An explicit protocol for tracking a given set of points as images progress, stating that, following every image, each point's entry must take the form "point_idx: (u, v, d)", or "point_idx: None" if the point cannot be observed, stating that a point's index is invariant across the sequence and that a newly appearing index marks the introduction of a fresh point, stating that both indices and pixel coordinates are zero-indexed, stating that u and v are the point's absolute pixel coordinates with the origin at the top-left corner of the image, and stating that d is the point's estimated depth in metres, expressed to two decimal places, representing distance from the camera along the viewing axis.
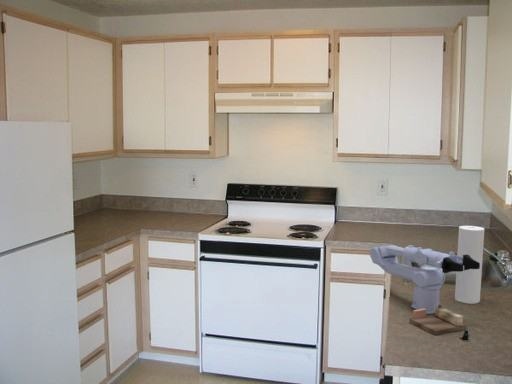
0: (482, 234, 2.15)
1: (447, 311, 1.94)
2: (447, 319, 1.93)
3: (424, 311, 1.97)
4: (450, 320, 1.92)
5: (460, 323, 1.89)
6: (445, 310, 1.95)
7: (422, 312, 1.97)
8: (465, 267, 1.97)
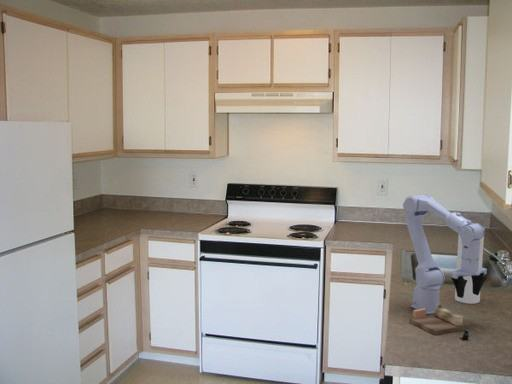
0: None
1: (447, 311, 1.94)
2: (447, 319, 1.93)
3: (424, 311, 1.97)
4: (450, 320, 1.92)
5: (460, 323, 1.89)
6: (445, 310, 1.95)
7: (422, 312, 1.97)
8: (473, 277, 1.96)
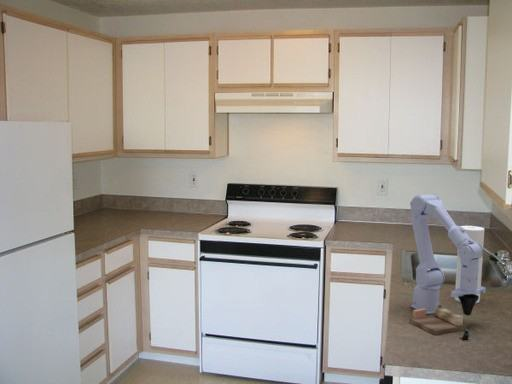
0: (482, 234, 2.15)
1: (447, 311, 1.94)
2: (447, 319, 1.93)
3: (424, 311, 1.97)
4: (450, 320, 1.92)
5: (460, 323, 1.89)
6: (445, 310, 1.95)
7: (422, 312, 1.97)
8: None
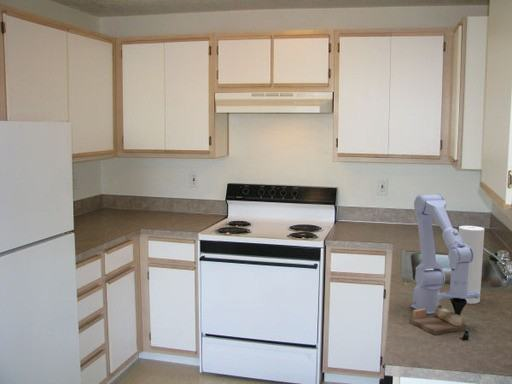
0: (482, 234, 2.15)
1: (447, 311, 1.94)
2: (446, 319, 1.93)
3: (424, 311, 1.97)
4: (449, 320, 1.92)
5: (458, 323, 1.89)
6: (444, 310, 1.95)
7: (422, 312, 1.97)
8: None
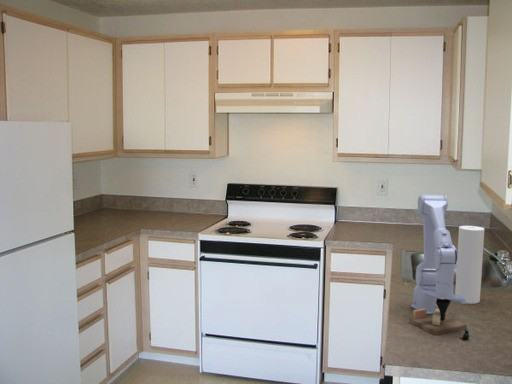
0: (482, 234, 2.15)
1: (438, 311, 1.94)
2: None
3: (424, 311, 1.97)
4: None
5: (436, 323, 1.89)
6: (437, 310, 1.95)
7: (422, 312, 1.97)
8: None
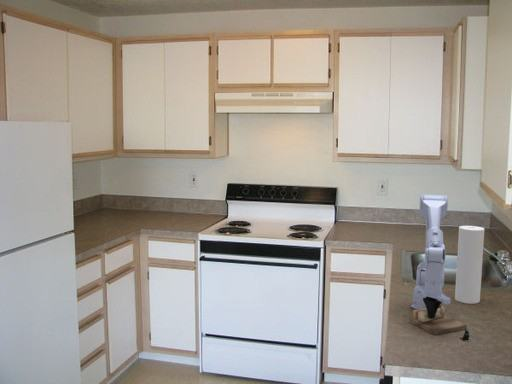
0: (482, 234, 2.15)
1: None
2: None
3: None
4: None
5: (420, 319, 1.93)
6: None
7: None
8: None
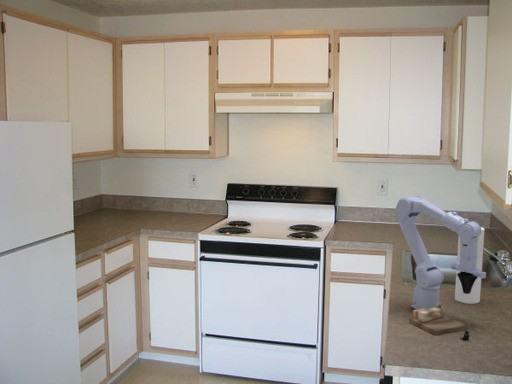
0: (482, 234, 2.15)
1: (432, 309, 1.96)
2: None
3: None
4: None
5: (420, 319, 1.93)
6: (432, 309, 1.96)
7: None
8: None
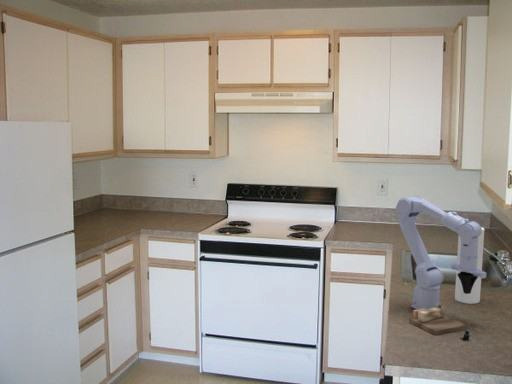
0: (482, 234, 2.15)
1: (432, 309, 1.96)
2: None
3: None
4: None
5: (420, 319, 1.93)
6: (432, 309, 1.96)
7: None
8: None
